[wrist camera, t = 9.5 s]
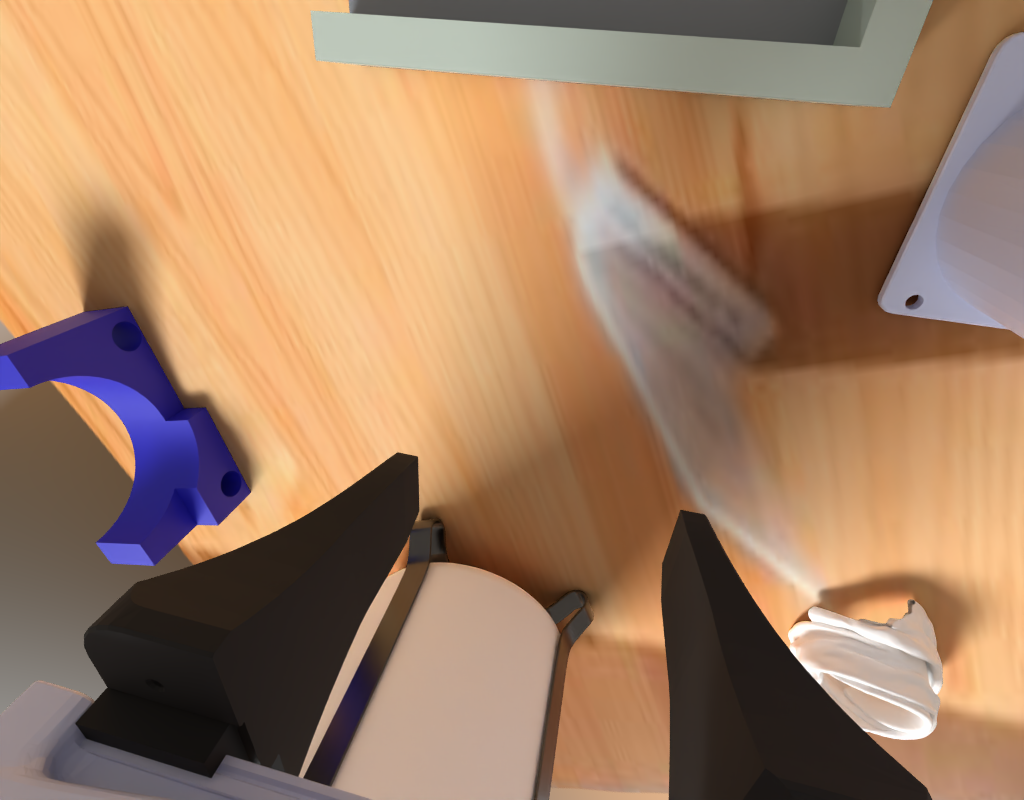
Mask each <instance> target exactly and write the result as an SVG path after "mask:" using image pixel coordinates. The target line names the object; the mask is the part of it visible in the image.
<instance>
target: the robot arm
mask: <svg viewBox="0 0 1024 800" xmlns="http://www.w3.org/2000/svg"><path fill="white" fill-rule="evenodd" d="M913 295H918V300H917V301H916V302H915V303H914V304H912V305H909V306H905V302H906V300H907V299H908V298H909V297H911V296H913ZM877 301H878V304H879V306H880V307H881V308H882V309H883V310H884V311H886V312H888V313H892V314H899V315H906V316H914V317H921V318H928V319H936V320H943V321H950V322H958V323H965V324H972V325H980V326H987V327H994V328H1002V329H1009V330H1011V331H1013V332H1014V333H1016V334H1017V335H1019V336H1020V337H1022V338H1024V32H1020V33H1014V34H1012V35H1010V36H1008V37H1006V38H1004V39H1003V40H1002V41H1001V42H1000V43H999V44H998V45H997V46H996V47H995V49H994V50H993V52H992V53H991V56H990V58H989V60H988V62H987V64H986V66H985V68H984V71H983V73H982V75H981V77H980V79H979V81H978V83H977V86H976V88H975V90H974V92H973V94H972V96H971V98H970V101H969V103H968V105H967V107H966V109H965V111H964V113H963V115H962V118H961V120H960V122H959V124H958V126H957V128H956V130H955V133H954V135H953V137H952V139H951V141H950V143H949V145H948V148H947V150H946V152H945V154H944V156H943V158H942V160H941V163H940V165H939V167H938V169H937V171H936V173H935V175H934V178H933V180H932V182H931V184H930V186H929V188H928V190H927V192H926V195H925V197H924V199H923V201H922V203H921V205H920V207H919V210H918V212H917V214H916V216H915V218H914V220H913V222H912V225H911V227H910V229H909V231H908V233H907V235H906V237H905V240H904V242H903V244H902V246H901V248H900V250H899V252H898V255H897V257H896V259H895V261H894V263H893V265H892V267H891V269H890V272H889V274H888V276H887V278H886V280H885V282H884V284H883V287H882V289H881V291H880V293H879V295H878V300H877ZM418 513H419V478H418V457H417V456H412V455H408V454H403V453H396V454H395V455H393V456H392V457H390V458H389V459H388V460H386V461H385V462H383V463H382V464H381V465H379V466H378V467H377V468H375V469H374V470H373V471H371V472H370V473H368V474H367V475H366V476H364V477H363V478H362V479H360V480H359V481H357V482H356V483H355V484H353V485H352V486H350V487H349V488H347V489H346V490H345V491H343V492H342V493H340V494H339V495H337V496H336V497H334V498H333V499H331V500H330V501H328V502H326V503H325V504H323V505H322V506H320V507H318V508H317V509H315V510H314V511H312V512H311V513H309V514H307V515H305V516H304V517H302V518H300V519H298V520H297V521H295V522H293V523H291V524H289V525H287V526H285V527H283V528H281V529H279V530H278V531H276V532H273V533H271V534H269V535H267V536H265V537H263V538H260V539H258V540H256V541H254V542H251V543H249V544H247V545H245V546H243V547H240V548H238V549H236V550H233V551H231V552H228V553H226V554H223V555H220V556H218V557H215V558H213V559H210V560H207V561H204V562H201V563H199V564H196V565H193V566H190V567H187V568H184V569H181V570H178V571H174V572H171V573H167V574H164V575H161V576H157V577H154V578H151V579H148V580H144V581H140V582H137V583H136V584H134V585H133V586H132V587H131V588H130V589H129V590H128V591H127V592H126V593H125V594H124V595H123V596H122V597H121V598H119V599H118V600H117V601H116V602H115V603H114V604H113V605H112V606H111V607H110V608H109V609H108V610H107V611H106V612H105V613H104V614H103V615H102V616H101V617H100V618H99V619H98V620H97V621H96V622H95V623H93V624H92V626H90V627H89V628H88V630H87V631H86V633H85V634H84V647H85V649H86V652H87V654H88V656H89V658H90V659H91V661H92V663H93V664H94V666H95V667H96V669H97V671H98V672H99V674H100V676H101V677H102V679H103V681H104V682H105V684H106V686H107V687H108V688H107V689H106V690H105V691H104V692H103V693H102V694H101V695H100V696H99V698H98V699H97V700H96V701H94V700H93V699H92V698H90V697H88V696H87V695H85V694H83V693H81V692H78V691H75V690H72V689H68V688H65V687H62V686H58V685H55V684H52V683H48V682H45V681H41V680H40V681H35V682H34V683H33V684H32V685H31V686H30V687H29V688H28V689H27V690H25V692H24V693H22V694H21V695H20V696H19V697H18V698H17V699H16V700H15V701H14V702H13V703H12V704H11V705H10V706H9V707H8V708H7V709H6V710H5V711H4V712H3V713H2V714H1V715H0V800H372V799H369V798H366V797H362V796H359V795H356V794H353V793H349V792H346V791H343V790H339V789H336V788H333V787H330V786H326V785H323V784H320V783H317V782H313V781H310V780H307V779H304V778H300V777H299V774H300V771H301V769H302V766H303V763H304V761H305V758H306V755H307V753H308V750H309V747H310V745H311V742H312V739H313V737H314V734H315V731H316V729H317V726H318V724H319V721H320V719H321V716H322V714H323V711H324V709H325V706H326V704H327V701H328V699H329V696H330V694H331V691H332V689H333V687H334V684H335V682H336V679H337V677H338V675H339V672H340V670H341V668H342V665H343V663H344V661H345V658H346V656H347V654H348V651H349V649H350V647H351V645H352V642H353V640H354V638H355V636H356V633H357V631H358V629H359V627H360V625H361V623H362V621H363V619H364V617H365V615H366V613H367V611H368V609H369V607H370V606H371V604H372V602H373V600H374V599H375V597H376V595H377V593H378V592H379V590H380V588H381V586H382V585H383V583H384V581H385V579H386V578H387V576H388V574H389V572H390V571H391V569H392V567H393V565H394V564H395V562H396V560H397V558H398V556H399V555H400V553H401V551H402V549H403V547H404V546H405V544H406V542H407V540H408V537H409V535H410V533H411V530H412V528H413V525H414V523H415V520H416V518H417V515H418ZM661 603H662V615H663V626H664V637H665V647H666V658H667V668H668V679H669V693H670V769H669V800H932V798H931V796H930V794H929V792H928V790H927V788H926V787H925V786H924V785H923V784H922V783H921V782H920V781H918V780H917V779H916V778H915V777H914V776H913V775H912V774H911V773H909V772H908V771H907V770H906V769H905V768H904V767H903V766H902V765H901V764H899V763H898V762H897V761H896V760H895V759H894V758H893V757H892V756H890V755H889V754H888V753H887V752H886V751H885V750H884V749H883V748H882V747H880V746H879V745H878V744H877V743H876V742H875V741H874V740H873V739H872V738H871V737H870V736H869V735H868V734H867V733H866V732H865V731H864V730H863V729H862V728H861V727H860V726H859V725H858V724H857V723H856V722H855V721H854V720H853V719H852V718H851V717H850V716H849V715H848V714H847V713H846V712H845V711H844V710H843V709H842V708H841V707H840V706H839V705H838V704H837V703H836V702H835V701H834V700H833V699H832V698H831V697H830V696H829V694H828V693H827V692H826V691H825V690H824V689H823V688H822V687H821V686H820V684H819V683H818V682H817V681H816V680H815V679H814V678H813V677H812V676H811V674H810V673H809V672H808V671H807V670H806V669H805V668H804V666H803V665H802V664H801V663H800V662H799V661H798V659H797V658H796V657H795V656H794V655H793V653H792V652H791V651H790V649H789V648H788V647H787V646H786V644H785V643H784V642H783V640H782V639H781V638H780V637H779V635H778V634H777V633H776V631H775V630H774V628H773V627H772V626H771V624H770V623H769V621H768V620H767V619H766V617H765V616H764V614H763V613H762V611H761V610H760V608H759V607H758V605H757V604H756V602H755V601H754V599H753V598H752V596H751V595H750V593H749V592H748V590H747V588H746V587H745V585H744V583H743V582H742V580H741V578H740V577H739V575H738V573H737V572H736V570H735V568H734V567H733V565H732V563H731V562H730V560H729V558H728V556H727V554H726V553H725V551H724V549H723V547H722V545H721V543H720V541H719V540H718V538H717V536H716V534H715V532H714V530H713V528H712V526H711V524H710V522H709V520H708V518H707V517H706V516H705V515H704V514H699V513H694V512H689V511H684V510H680V513H679V516H678V519H677V522H676V525H675V528H674V531H673V534H672V537H671V540H670V543H669V546H668V549H667V551H666V554H665V557H664V560H663V563H662V589H661Z"/></svg>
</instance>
